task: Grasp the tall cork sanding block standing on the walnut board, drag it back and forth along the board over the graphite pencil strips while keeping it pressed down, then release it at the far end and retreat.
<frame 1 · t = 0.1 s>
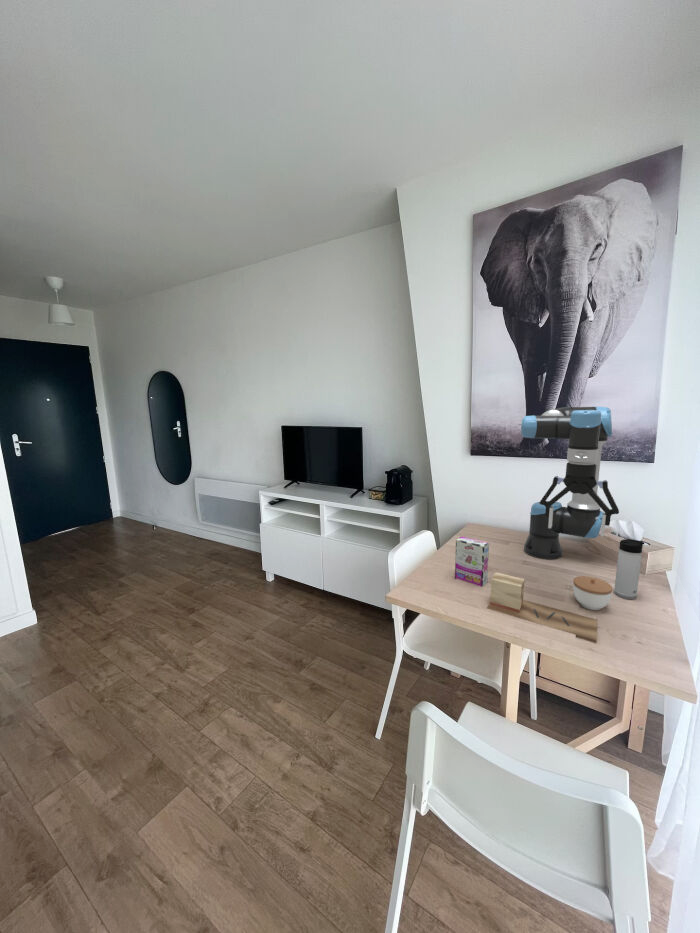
hand: (575, 531, 111), 28 cm above the table, fingers open, 13 cm apart
sanding block: (506, 604, 121), point 1 cm above the table, touching board
travel mug: (625, 595, 126), on the table
candy bar box: (470, 582, 138), on the table
board: (539, 616, 115), on the table
lidded jar: (590, 605, 121), on the table
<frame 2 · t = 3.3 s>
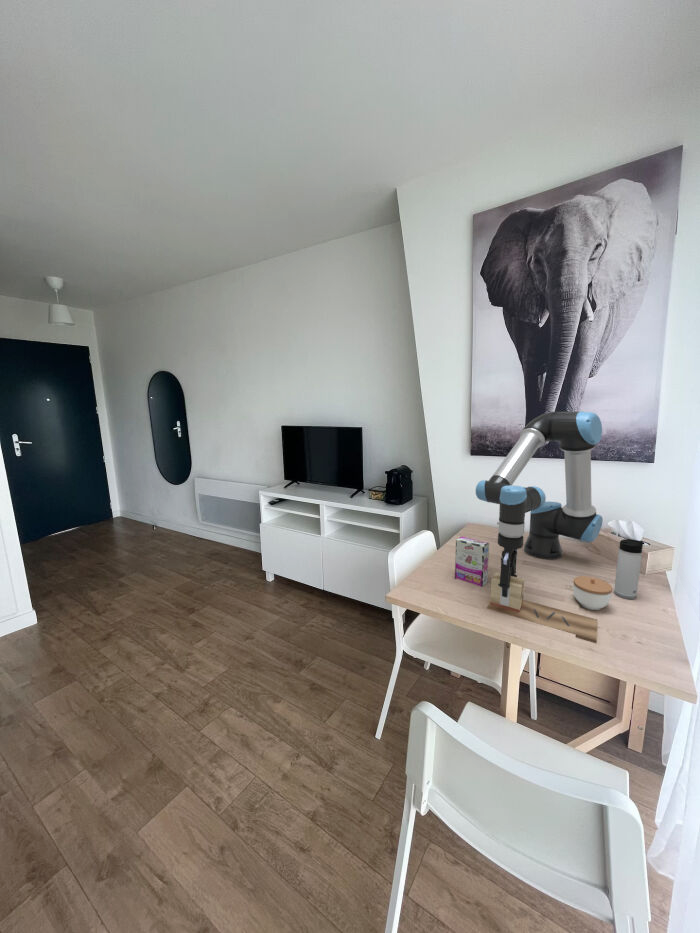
hand: (506, 599, 120), 2 cm above the table, fingers closed on sanding block, 6 cm apart
sanding block: (506, 604, 121), point 1 cm above the table, touching board, gripper
everything else where it was.
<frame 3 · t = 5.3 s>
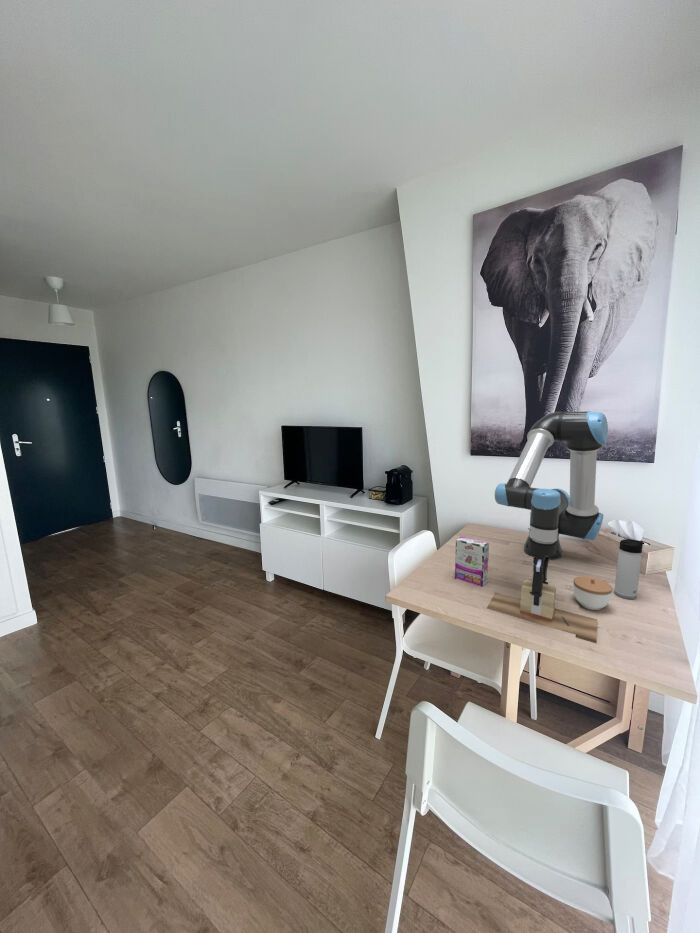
hand: (537, 608, 115), 2 cm above the table, fingers closed on sanding block, 6 cm apart
sanding block: (537, 612, 115), point 1 cm above the table, touching gripper
everything else where it was.
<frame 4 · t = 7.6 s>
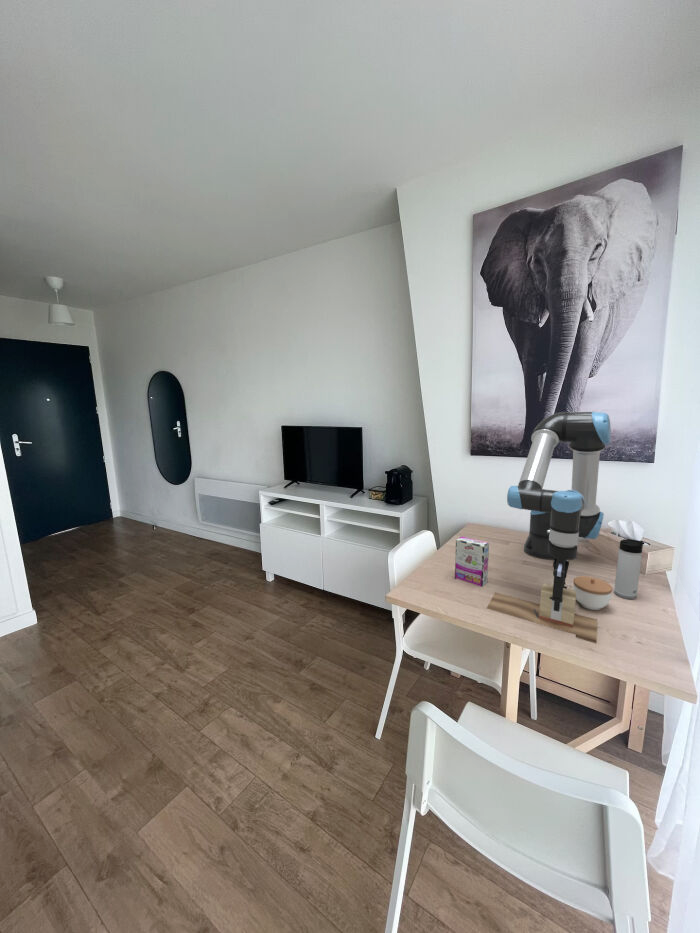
hand: (556, 613, 112), 2 cm above the table, fingers closed on sanding block, 6 cm apart
sanding block: (556, 618, 112), point 1 cm above the table, touching gripper
everything else where it was.
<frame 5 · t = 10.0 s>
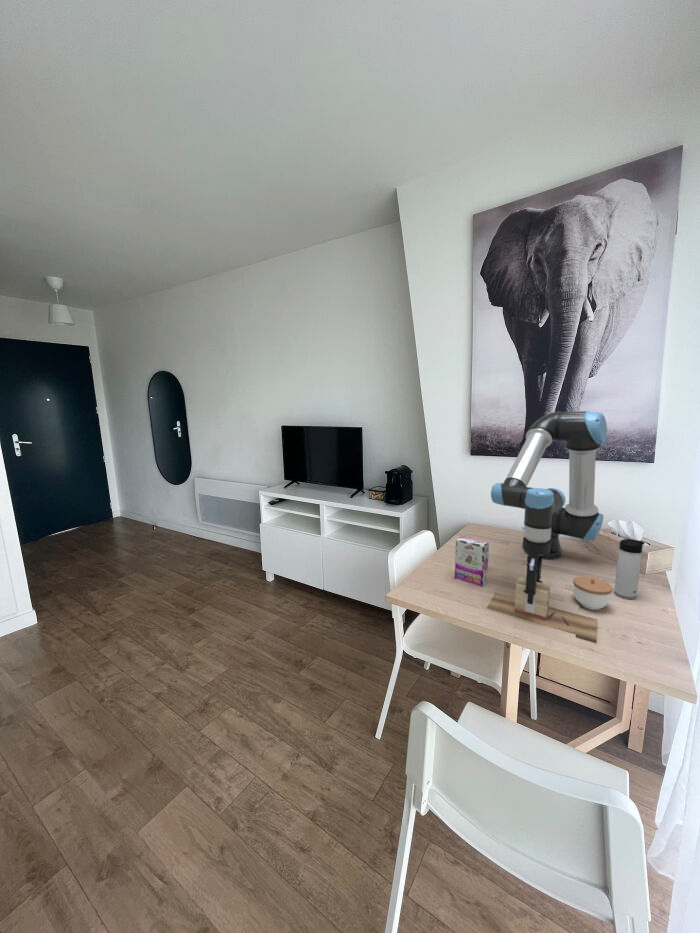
hand: (531, 606, 116), 2 cm above the table, fingers closed on sanding block, 6 cm apart
sanding block: (531, 611, 116), point 1 cm above the table, touching gripper
everything else where it was.
when the fingers open (2 cm above the table, at t = 11.9 s): sanding block stays where it is, resting on board.
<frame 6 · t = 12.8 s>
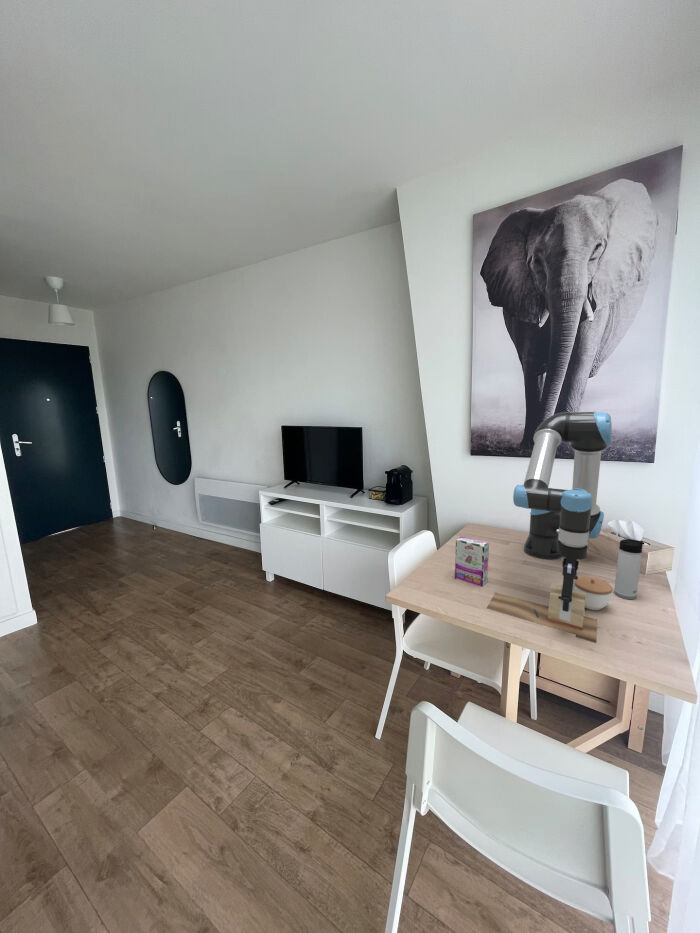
hand: (566, 608, 111), 5 cm above the table, fingers open, 13 cm apart
sanding block: (565, 620, 111), point 1 cm above the table, touching board
everything else where it was.
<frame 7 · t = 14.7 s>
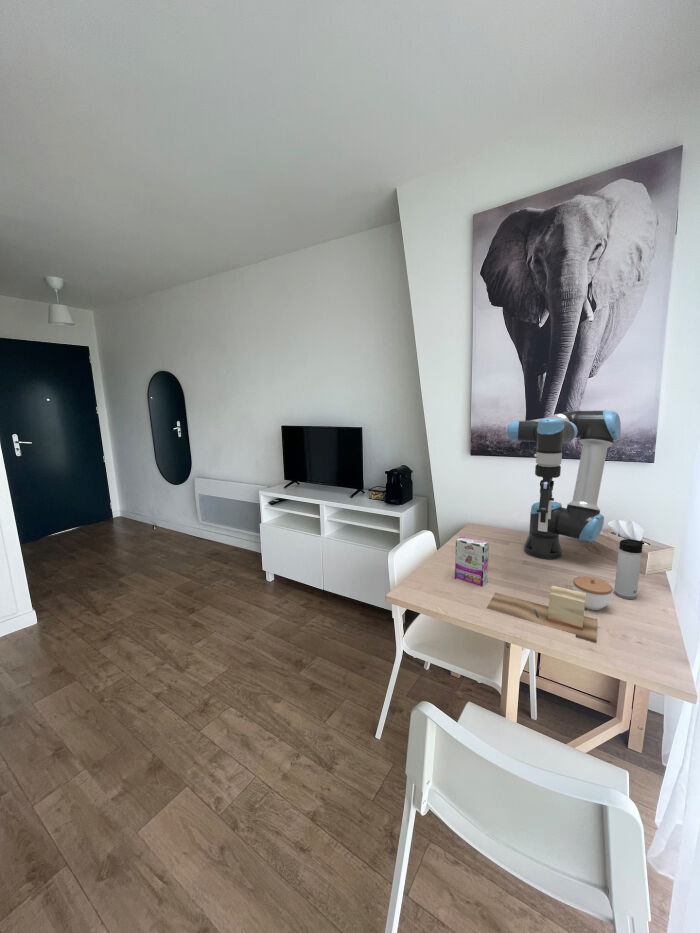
hand: (544, 524, 126), 25 cm above the table, fingers open, 13 cm apart
nothing on the table moved.
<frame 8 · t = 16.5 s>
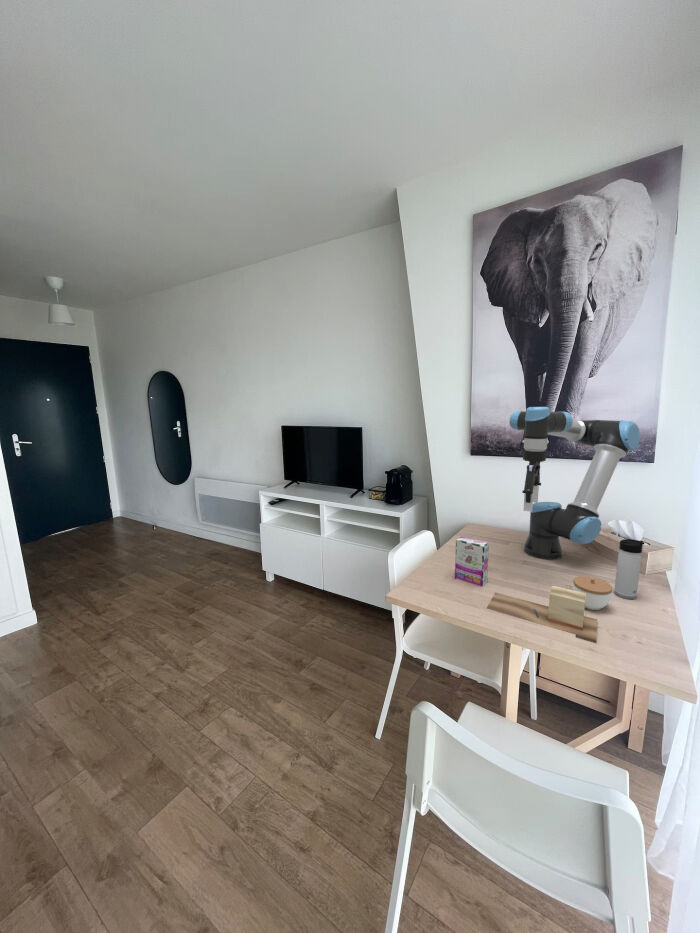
hand: (530, 506, 135), 29 cm above the table, fingers open, 13 cm apart
nothing on the table moved.
at the end: sanding block inside the target area on the board (0.5 cm from its centre), point 0.8 cm above the board's base; sanding block touching board; the gripper is holding nothing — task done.
